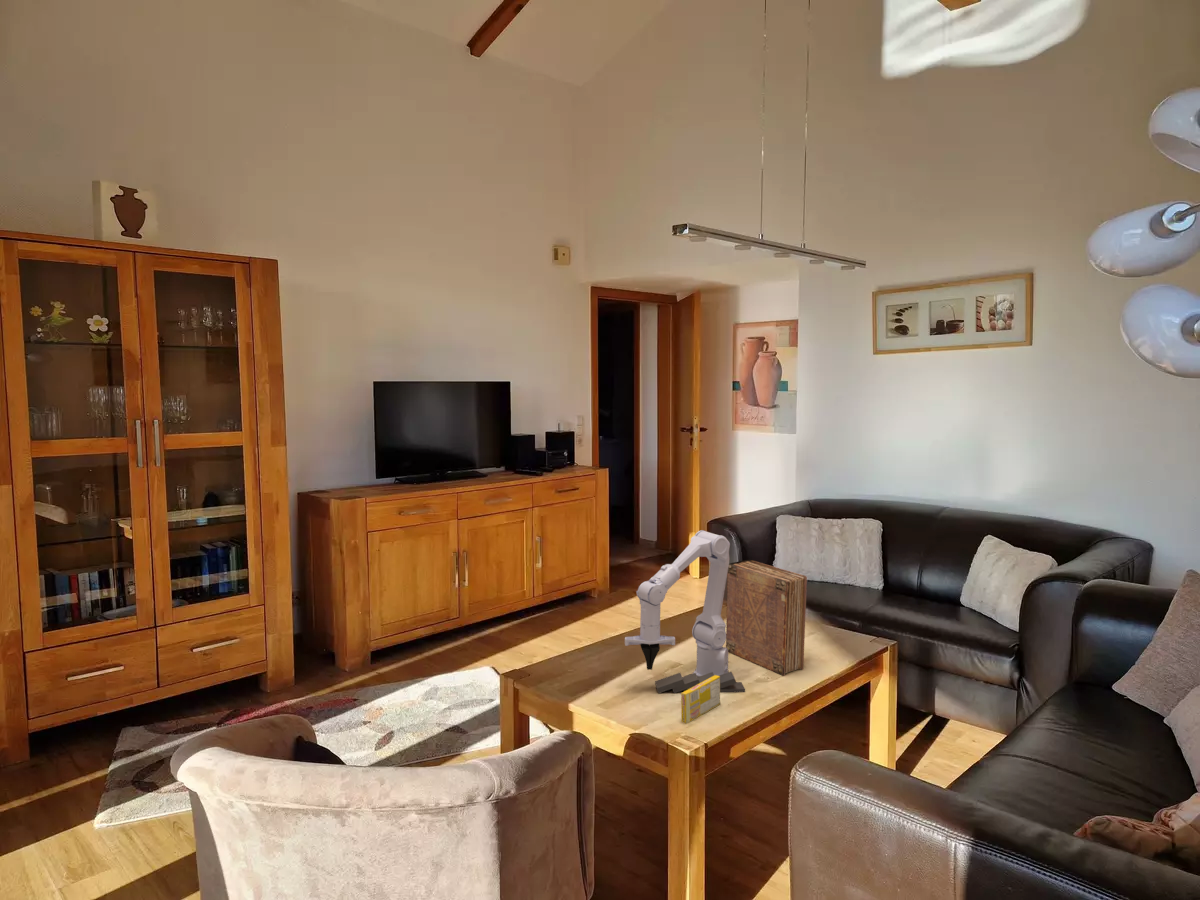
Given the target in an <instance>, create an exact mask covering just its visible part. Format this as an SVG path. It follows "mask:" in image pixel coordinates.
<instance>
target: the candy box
mask: <svg viewBox="0 0 1200 900" xmlns="http://www.w3.org/2000/svg"><path fill="white" fill-rule="evenodd" d="M680 695H681V698H680V699H681V700H680V702H681V710H680V711H681V719H680V720H681V722H682V723H684V724H688V723H690V722H692V721H693V720H695V719H697V718H699V717H701V716H703V715H704V714H706V713H707V712H709V711H711V710H712V709H714V708H716V707H718V706H719V705H721V693H720V676H717V675H714V676H712V677H710V678H709V679H707V680H705V681H703V682H701V683H699V684H697V685H695V686H694V687H692V688H688V689H685V690H683V692H682V691H681V693H680Z"/></svg>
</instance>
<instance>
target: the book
mask: <svg viewBox="0 0 1200 900" xmlns="http://www.w3.org/2000/svg"><path fill="white" fill-rule="evenodd" d="M807 582H808V577H807V575H804V574H800V573H797V572H794V571H790V570H787V569H782V568H780V567H776V566H773V565H769V564H765V563H763V562H759V561H756V560H751V559H744V560H739V561H735V562H729V566H728V573H727V579H726V584H727V586H726V587H727V588H726V623H725V624H726V628H725V631H726V641H725V648H728V654H729V653H730V654H732V655H734V656H736V657H739V658H741V659H743V660H745V661H748V662H750V663H752V664H754V665H756V666H760V667H761V668H763V669H766V670H767V671H770V672H772V673H775V674H777V675H779V676H782V677H785V675H786V673H790V672H793V671H797V670H801V671H802V670H804V666H805V665H804V664H805V662H804V661H805V639H806V638H805V637H806V615H807V614H806V612H807V611H806V607H807V584H808V583H807Z"/></svg>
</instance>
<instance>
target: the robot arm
mask: <svg viewBox="0 0 1200 900" xmlns="http://www.w3.org/2000/svg"><path fill="white" fill-rule="evenodd" d="M730 546H731V543H730V541H729V540H728V539H727V537H726V536H724V535H719V534H715V533H713V532H709V531H707V530H703V529H701V530H699V531H698V530H697V532H696V533H695V534H694V535H692V537H691V538H690V543H688V545H687V546H686V547H685V549H684V550H683V551H682V552H681V553H680V554H679V555H678V557H677V558H675V560H674V561H673V562H672V563H665V564H664V565H662V566H661V567H660V569H659V570H658V571H657V572H656V573H655V574H654V575H653V576H652V577H651V578H650V579H649V580H646V581H643V582H642V583H641V584H640V585H638V588H637V590H636V596H637V598H638V600H639V605H640V625H639V629H640V631H639V635H634V636H625V637H624V646H627V647H629V646H634V645H635V646H636V645H637V646H639V645H640V648H641V651H642V653H643V656H644V659H645V663H646V664H645V665H646V670H648V671H649V670H651V671H652V670H653V668H654V667H653V666H654V662H655V659H656V657H657V655H658V653H659V652H660V648H661V647H660V645H671V646H676V637H675V636H669V635H668V636H667V635H661V603H663V601H664V600H665V598H666V594H667V593H668V592H669V591H668V590H669V589H670V588H672V586H674V585H675V584H676V583H677V582H678V581H679V579H680V577H681V572H683V571H684V570H685V569H686V568H687V567H689V566H690V565H691V564H692V563H693V562H694V561H695V560H697V559H698V558H700V557H701V558H703V557H705V558H707V560H708V561H709V562H710V565H709V570H708V577H707V585H706V591H705V597H704V602H703V609H702V613H700V614H698V615H697V616H696V618H695V622H694V624H693V627H692V630H691V635H692V638H694V640H695V644H696V668H695V670H693V672H692V674H693V673H696V675H697V677H700V676H703V675H705V674H708V673H711V672H713V674H714V675H717V676H719V675H722V674H725V673H728V672H729V652H728V648H726V646H725V647H724V644H726V623H725V620H724V619H723V618H722V609H723V603H724V597H725V591H726V584H727V574H728V566H729V563H730Z"/></svg>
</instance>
